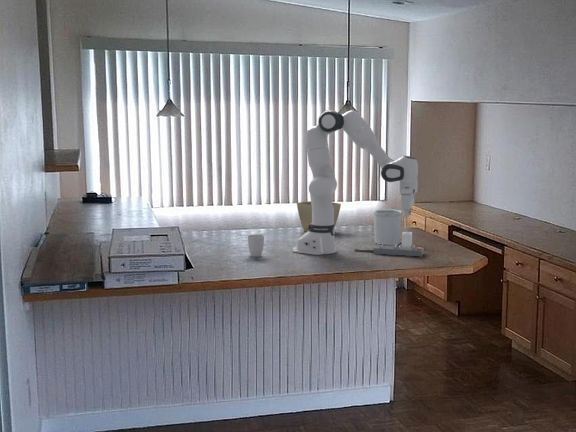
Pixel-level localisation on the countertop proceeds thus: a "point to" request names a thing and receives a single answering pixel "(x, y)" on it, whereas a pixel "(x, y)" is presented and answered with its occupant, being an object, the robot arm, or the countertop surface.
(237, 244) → the countertop surface
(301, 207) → the flower pot
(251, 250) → the cup
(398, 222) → the utensil holder
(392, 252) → the power strip
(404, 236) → the charger
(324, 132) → the robot arm
